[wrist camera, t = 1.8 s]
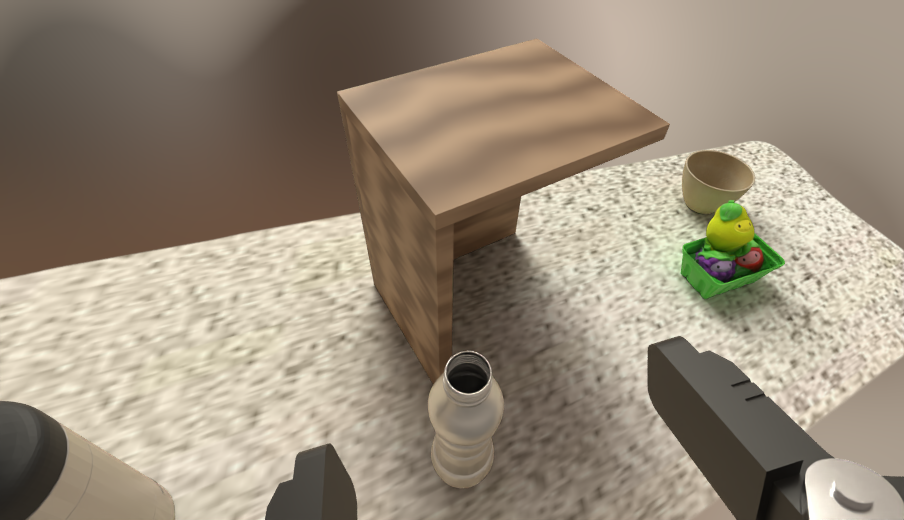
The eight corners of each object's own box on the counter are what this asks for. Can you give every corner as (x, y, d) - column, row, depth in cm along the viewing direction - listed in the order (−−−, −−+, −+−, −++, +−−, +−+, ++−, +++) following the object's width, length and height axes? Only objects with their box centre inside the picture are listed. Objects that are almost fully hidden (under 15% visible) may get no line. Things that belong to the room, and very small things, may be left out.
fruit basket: (702, 309, 63) (742, 253, 54) (661, 262, 68) (692, 205, 60) (768, 286, 65) (816, 230, 57) (724, 243, 71) (761, 185, 62)
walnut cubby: (591, 314, 62) (669, 124, 40) (440, 396, 54) (435, 215, 32) (509, 226, 73) (536, 38, 51) (374, 284, 65) (336, 91, 43)
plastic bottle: (497, 436, 51) (517, 341, 36) (486, 502, 47) (504, 425, 32) (440, 423, 52) (437, 325, 37) (424, 486, 48) (413, 404, 33)
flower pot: (683, 226, 73) (701, 191, 68) (660, 185, 80) (676, 150, 74) (744, 224, 73) (768, 189, 68) (717, 183, 80) (736, 148, 75)
